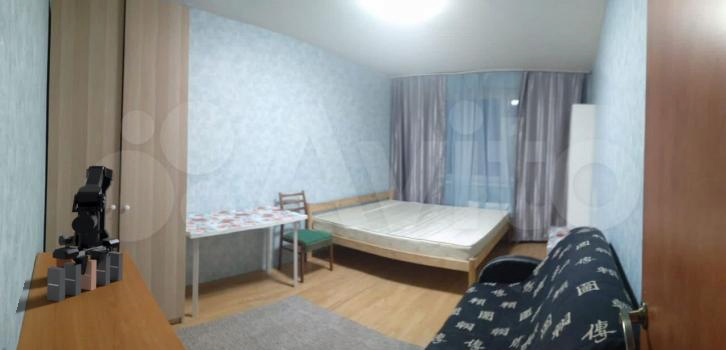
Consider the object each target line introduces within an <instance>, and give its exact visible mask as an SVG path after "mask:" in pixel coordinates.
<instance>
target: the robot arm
mask: <svg viewBox="0 0 726 350" xmlns="http://www.w3.org/2000/svg"><path fill="white" fill-rule="evenodd" d="M85 179H86V181H85V183H84V184H85V185H82V186H80V187H79V188H78V190H77V192H76V193H74V196H73V201H72V208H71V213H77V216H76V217H75V218H74V219H73V220H72V222H71V228H72V230H73V231H74V232H73V235H68V234H63V235H60V236H58V245H59V246H64V247H59V248H55V249H54V250H53V251H52V258H53V259H63V260H68V259H73V263H77V264H81V275H84V274H85V271H86V266H87V261H88V259H93V260H96V269H97V267H98V265H99V264H100V262H101V260H102V259H103V257H104V256H108V252H111V251H113V252H115V249H116V248H120V246H121V245H120V244H121V243H120V240H119V239H118V238H112V237H111V233H110V232H109V230H108V229H107V227H106V224H107V223H106V221H107V217H106V216H107V197H108V196H107V194H108V191H109V189H110V188H111V186H112V185H113V182H114V180H115V173H114V170H113V169H111V168H108V167H106V166H105V165H89V166H88V168H86V170H85Z"/></svg>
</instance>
